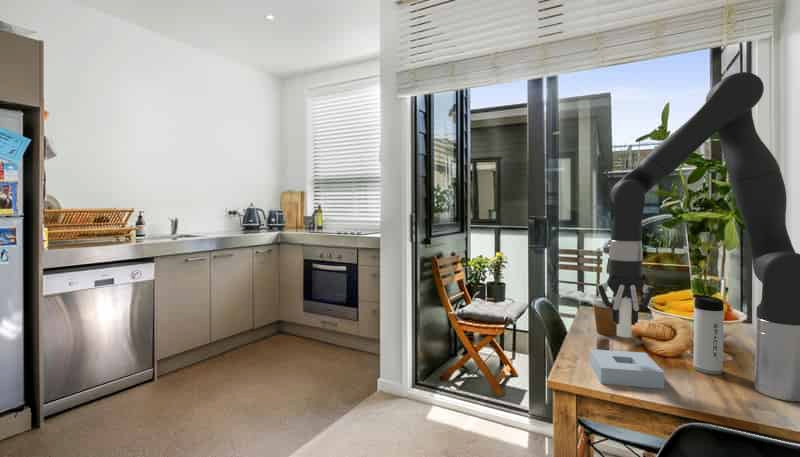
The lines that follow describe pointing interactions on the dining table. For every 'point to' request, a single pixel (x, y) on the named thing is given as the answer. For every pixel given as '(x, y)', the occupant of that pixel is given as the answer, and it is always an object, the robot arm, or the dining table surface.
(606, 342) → the short pin
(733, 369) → the dining table surface
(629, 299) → the long pin
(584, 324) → the dining table surface
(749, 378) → the dining table surface
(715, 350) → the travel mug
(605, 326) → the disposable coffee cup
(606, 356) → the jig block
